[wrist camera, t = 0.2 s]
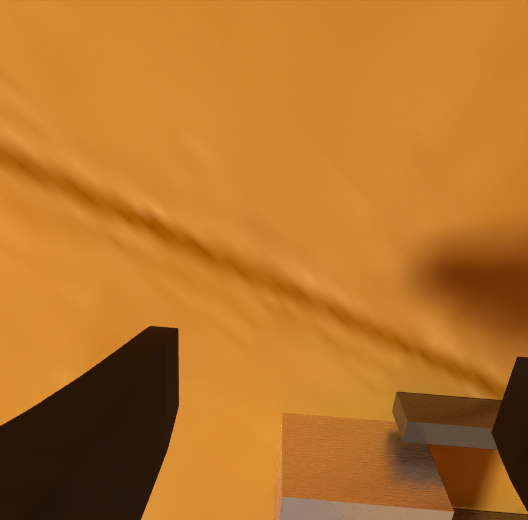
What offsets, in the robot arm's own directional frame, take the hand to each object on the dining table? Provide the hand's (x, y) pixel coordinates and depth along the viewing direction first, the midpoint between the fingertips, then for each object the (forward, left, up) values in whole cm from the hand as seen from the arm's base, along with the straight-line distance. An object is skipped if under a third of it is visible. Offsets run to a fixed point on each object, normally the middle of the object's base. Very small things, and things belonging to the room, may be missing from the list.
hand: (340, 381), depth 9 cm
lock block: (-12, -3, -10) cm, 16 cm away
